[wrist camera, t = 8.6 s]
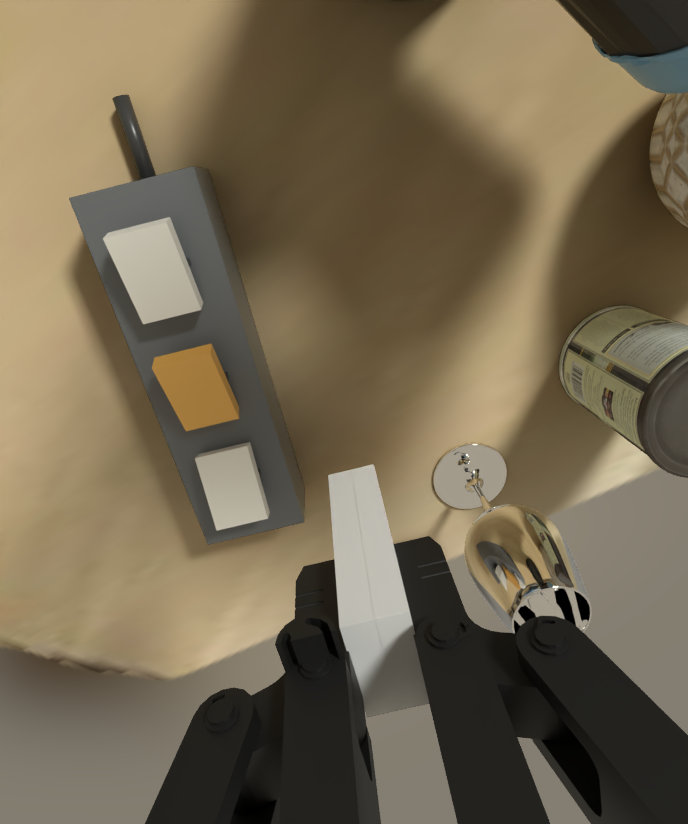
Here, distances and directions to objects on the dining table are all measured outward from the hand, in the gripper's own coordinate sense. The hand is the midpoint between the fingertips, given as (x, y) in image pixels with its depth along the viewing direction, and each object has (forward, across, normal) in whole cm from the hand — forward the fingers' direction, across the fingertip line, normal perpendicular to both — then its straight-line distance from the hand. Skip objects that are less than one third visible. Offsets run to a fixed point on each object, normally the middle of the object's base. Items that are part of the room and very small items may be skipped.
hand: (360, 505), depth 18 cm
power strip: (+32, -11, +1) cm, 34 cm away
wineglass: (+33, +10, -20) cm, 40 cm away
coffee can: (+33, +25, -11) cm, 43 cm away
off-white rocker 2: (+25, -11, -11) cm, 29 cm away
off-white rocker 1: (+25, -11, +7) cm, 28 cm away
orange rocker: (+25, -11, -2) cm, 27 cm away
